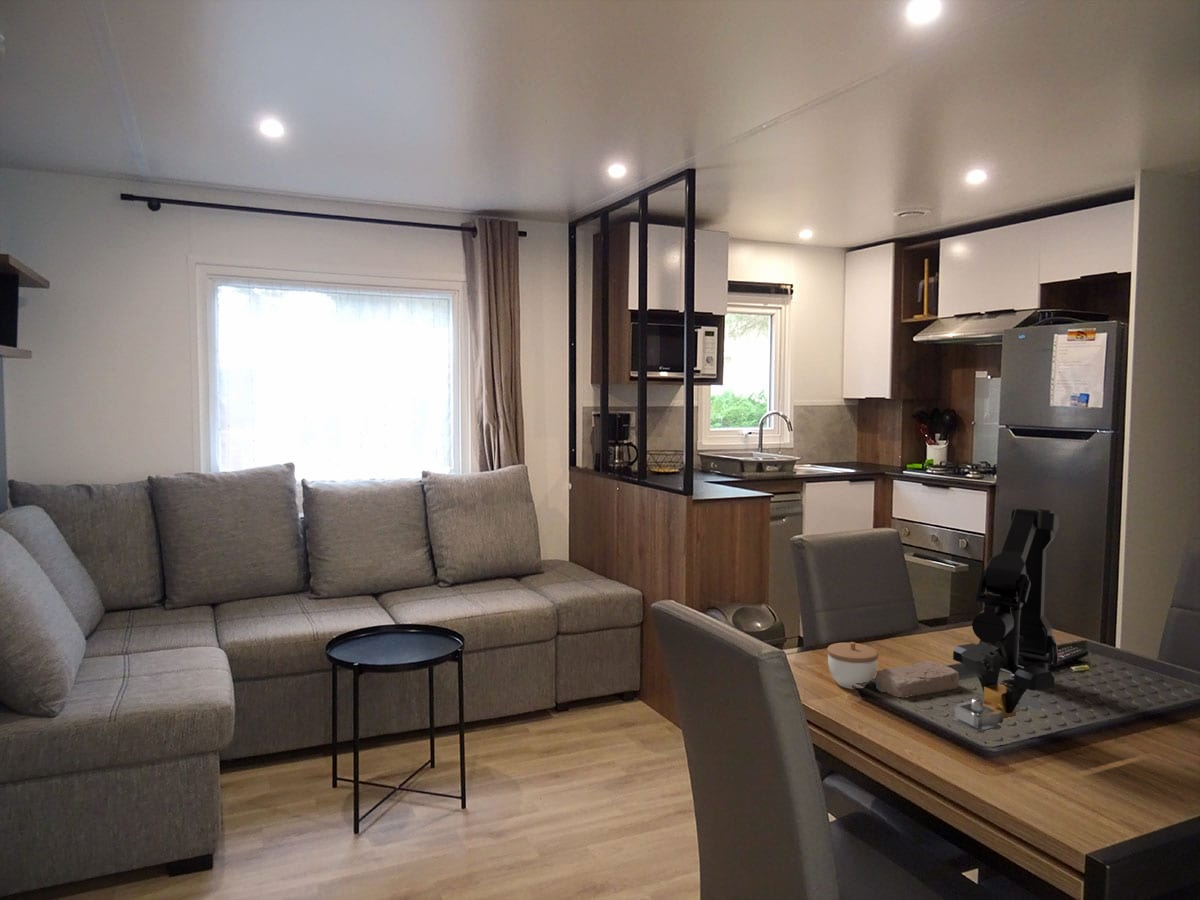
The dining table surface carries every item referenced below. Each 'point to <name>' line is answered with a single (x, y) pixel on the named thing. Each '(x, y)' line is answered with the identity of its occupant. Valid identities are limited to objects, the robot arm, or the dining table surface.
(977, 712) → the metal knob
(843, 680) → the lidded jar
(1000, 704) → the grey and orange frame
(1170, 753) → the dining table surface
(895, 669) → the brick
